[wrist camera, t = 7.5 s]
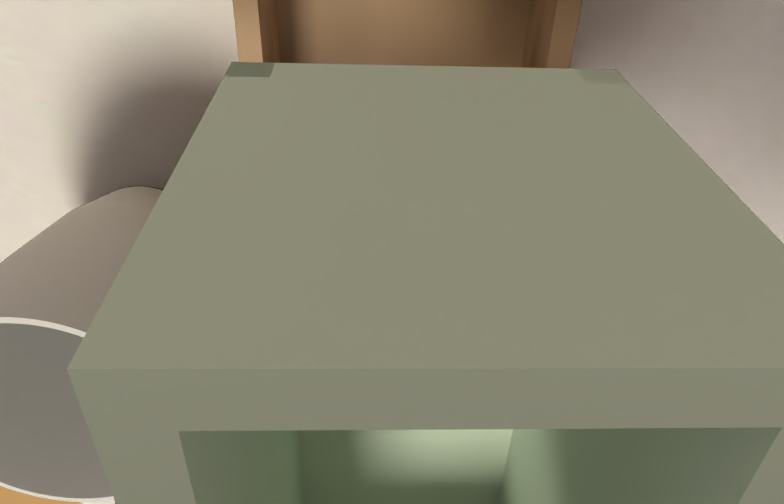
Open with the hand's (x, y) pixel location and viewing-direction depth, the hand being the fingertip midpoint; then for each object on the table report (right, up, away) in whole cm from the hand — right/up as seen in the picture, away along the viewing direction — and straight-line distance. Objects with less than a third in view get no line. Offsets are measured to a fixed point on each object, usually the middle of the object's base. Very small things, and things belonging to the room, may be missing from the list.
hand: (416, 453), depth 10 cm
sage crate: (0, +1, +2) cm, 2 cm away
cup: (-11, +4, +17) cm, 20 cm away
